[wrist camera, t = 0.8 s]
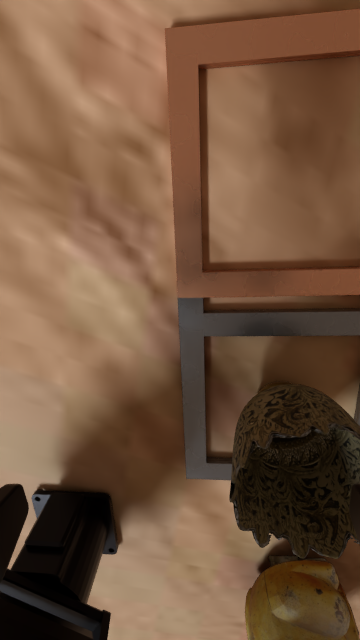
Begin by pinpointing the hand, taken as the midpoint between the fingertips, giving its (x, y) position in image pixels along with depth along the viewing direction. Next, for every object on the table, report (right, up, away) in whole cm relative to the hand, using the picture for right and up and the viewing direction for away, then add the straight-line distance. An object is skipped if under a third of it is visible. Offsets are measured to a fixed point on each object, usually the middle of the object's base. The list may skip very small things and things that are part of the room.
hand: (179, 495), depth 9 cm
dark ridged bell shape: (+7, -1, +13) cm, 15 cm away
